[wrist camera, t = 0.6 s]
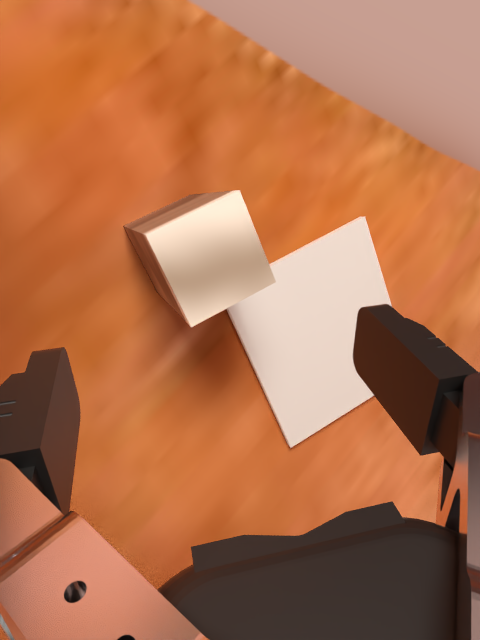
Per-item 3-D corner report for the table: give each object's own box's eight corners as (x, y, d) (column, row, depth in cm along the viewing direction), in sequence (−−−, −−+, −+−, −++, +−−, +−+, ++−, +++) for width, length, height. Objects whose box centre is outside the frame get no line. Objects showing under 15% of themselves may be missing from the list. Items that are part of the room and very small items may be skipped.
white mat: (218, 291, 33) (220, 292, 32) (360, 216, 35) (364, 216, 35) (287, 444, 38) (290, 447, 38) (406, 369, 41) (411, 371, 40)
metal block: (123, 225, 30) (145, 234, 20) (190, 194, 31) (239, 190, 21) (156, 292, 31) (191, 327, 22) (219, 260, 32) (276, 282, 23)
